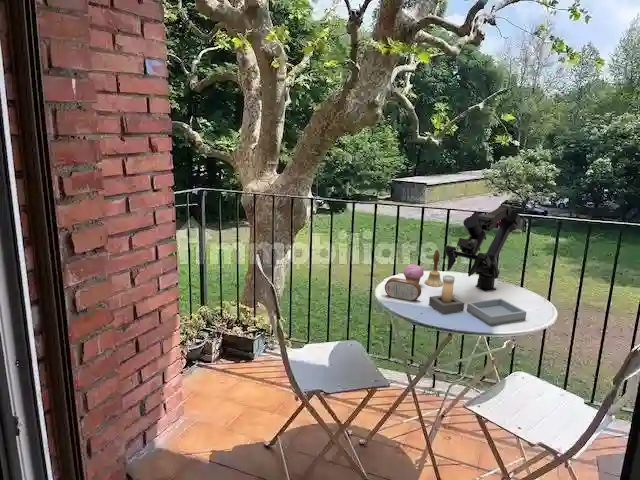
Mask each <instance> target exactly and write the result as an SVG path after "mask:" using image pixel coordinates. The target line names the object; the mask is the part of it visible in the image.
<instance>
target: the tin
mask: <svg viewBox="0 0 640 480" xmlns="http://www.w3.org/2000/svg"><path fill="white" fill-rule="evenodd" d="M384 290H385V293H386V294H387V296H388V297H390V298H393V299H398V300H402V301H409V302H413V301H416V300H418V299H419V298H420V296H421V294H422V288H421V286H420V283H419V284H418V283H416V282H415V281H411V280H406V278H405V279H403V278H399V277H391V278H389V279H388V280H387V281H386V283H385V284H384Z"/></svg>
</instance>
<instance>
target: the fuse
mask: <svg viewBox="0 0 640 480" xmlns="http://www.w3.org/2000/svg"><path fill="white" fill-rule="evenodd" d="M442 283H443V286H442V290H441V295H442V300H441V301H442V302H444V303H451V302H452V296H454V293H453V292H454V285H455V284H454V283H455V276H453V275H450V274H449V275H448V274H447V275H443V276H442Z"/></svg>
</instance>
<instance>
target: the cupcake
mask: <svg viewBox="0 0 640 480" xmlns="http://www.w3.org/2000/svg"><path fill="white" fill-rule="evenodd" d="M403 275H404V277H405V280H411V281H415V282H416V283H418V284H419V285H420V280H421V278H422V277H424V275H425V274H424V268H423V267H422V266H420V265H418V264H413V263H412V264H411V263H410V264H408V265H407V266H406V267H405V268H404V270H403Z"/></svg>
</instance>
